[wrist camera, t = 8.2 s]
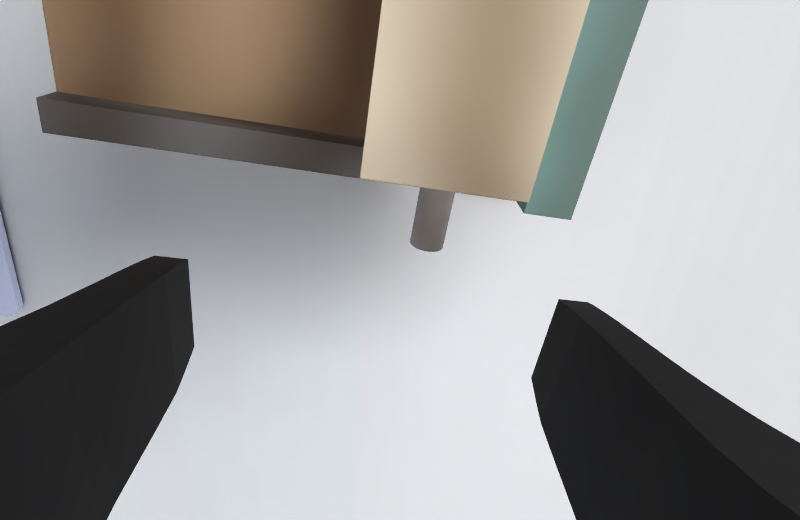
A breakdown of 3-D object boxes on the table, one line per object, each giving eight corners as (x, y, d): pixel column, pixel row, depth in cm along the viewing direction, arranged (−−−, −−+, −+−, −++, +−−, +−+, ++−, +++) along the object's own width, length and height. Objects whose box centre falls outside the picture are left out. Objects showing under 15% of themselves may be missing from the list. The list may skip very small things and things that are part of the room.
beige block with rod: (360, 185, 17) (350, 254, 12) (406, -178, 12) (417, -277, 8) (476, 202, 17) (506, 275, 12) (561, -144, 12) (656, -220, 8)
